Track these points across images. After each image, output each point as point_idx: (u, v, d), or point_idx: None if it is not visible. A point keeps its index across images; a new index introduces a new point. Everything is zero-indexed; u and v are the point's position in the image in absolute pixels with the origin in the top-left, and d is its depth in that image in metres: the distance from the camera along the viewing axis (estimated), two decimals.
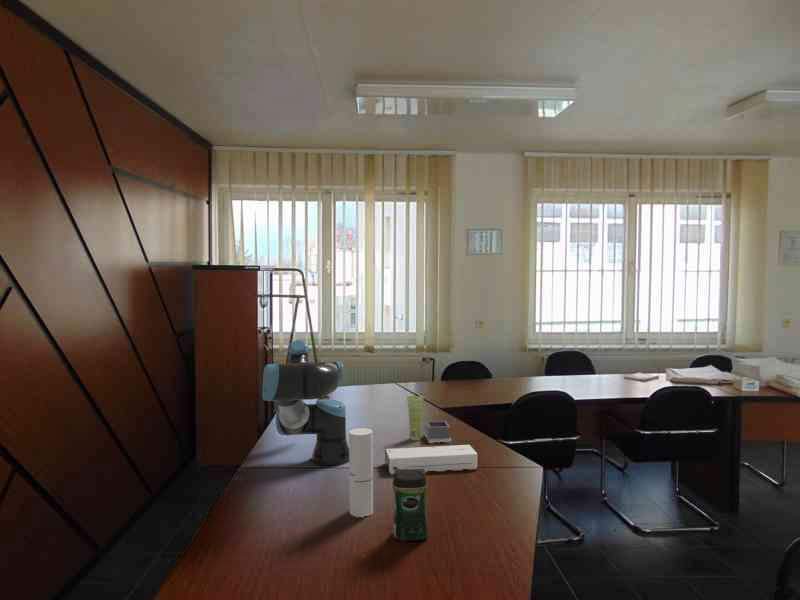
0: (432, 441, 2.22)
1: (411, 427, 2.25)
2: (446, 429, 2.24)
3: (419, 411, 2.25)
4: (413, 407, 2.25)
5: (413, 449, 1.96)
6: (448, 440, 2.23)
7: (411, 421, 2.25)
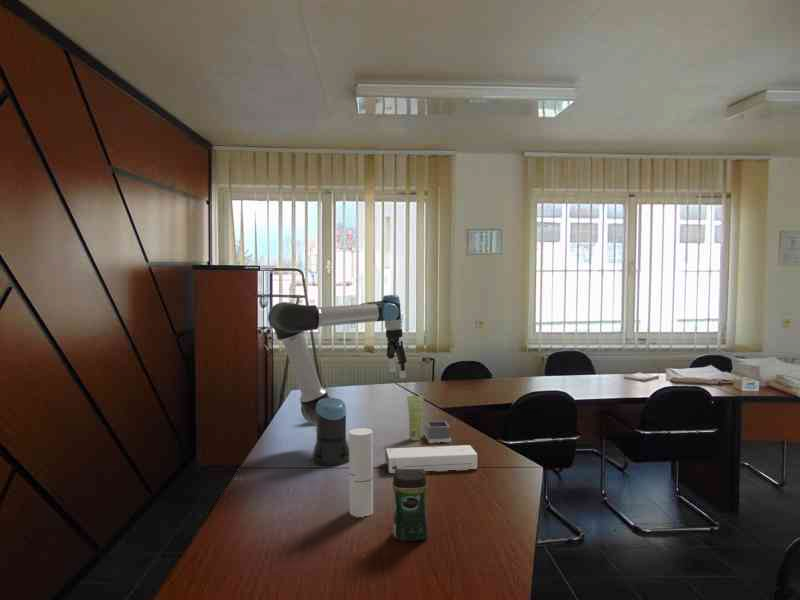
0: (432, 441, 2.22)
1: (411, 427, 2.25)
2: (446, 429, 2.24)
3: (419, 411, 2.25)
4: (413, 407, 2.25)
5: (413, 449, 1.96)
6: (448, 440, 2.23)
7: (411, 421, 2.25)
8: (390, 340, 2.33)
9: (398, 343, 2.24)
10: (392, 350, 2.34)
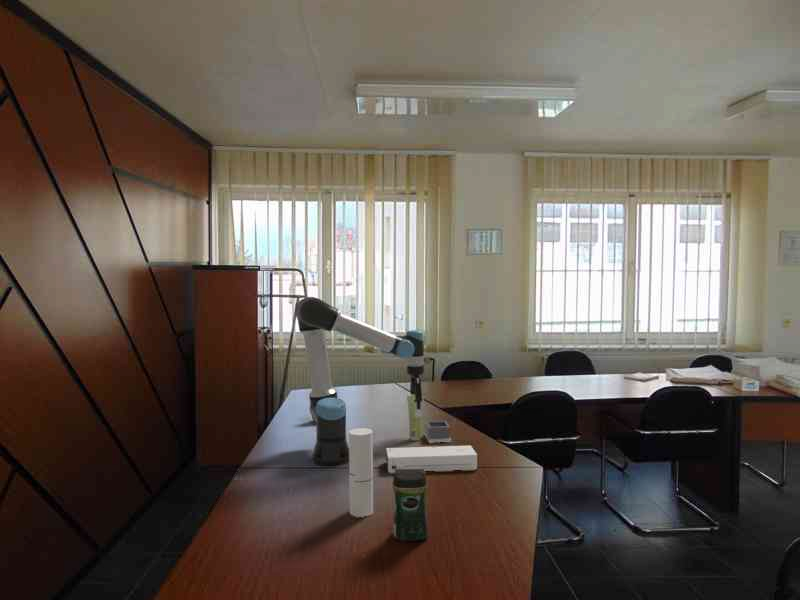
0: (432, 441, 2.22)
1: (411, 427, 2.25)
2: (446, 429, 2.24)
3: None
4: (413, 407, 2.25)
5: (413, 449, 1.96)
6: (448, 440, 2.23)
7: (411, 421, 2.25)
8: (412, 376, 2.29)
9: (416, 381, 2.19)
10: None
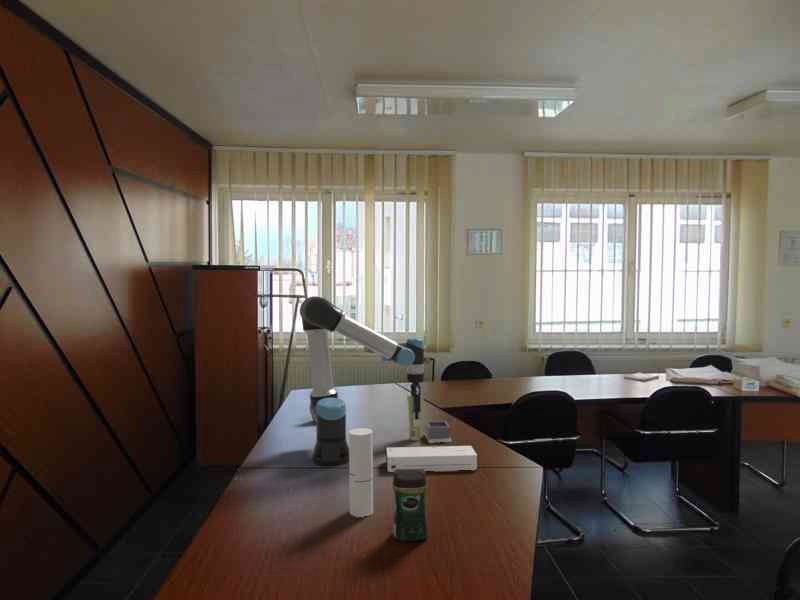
0: (432, 441, 2.22)
1: (411, 427, 2.25)
2: (446, 429, 2.24)
3: None
4: (413, 407, 2.25)
5: (413, 448, 1.97)
6: (448, 440, 2.23)
7: (411, 421, 2.25)
8: (412, 383, 2.29)
9: (416, 392, 2.20)
10: None
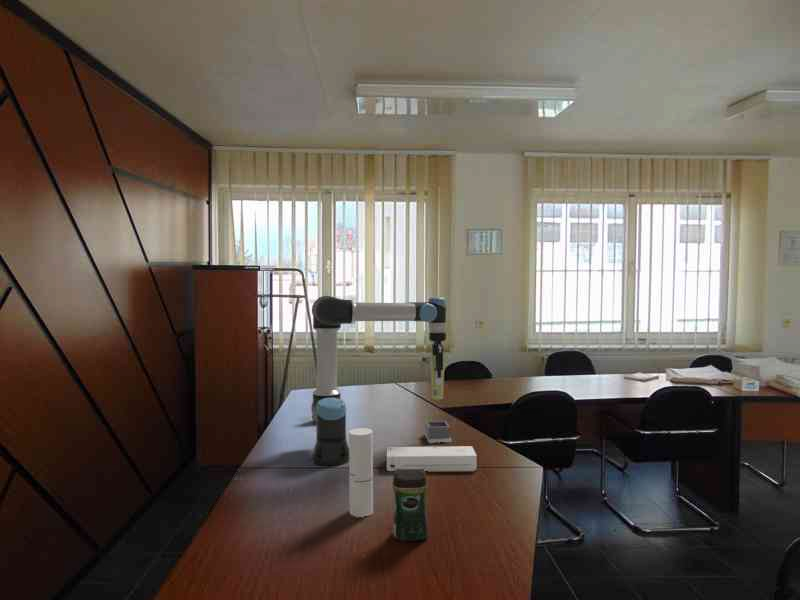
0: (432, 441, 2.22)
1: (433, 386, 2.26)
2: (446, 429, 2.24)
3: None
4: None
5: (414, 448, 1.97)
6: (448, 440, 2.23)
7: (434, 380, 2.25)
8: None
9: (438, 350, 2.20)
10: None
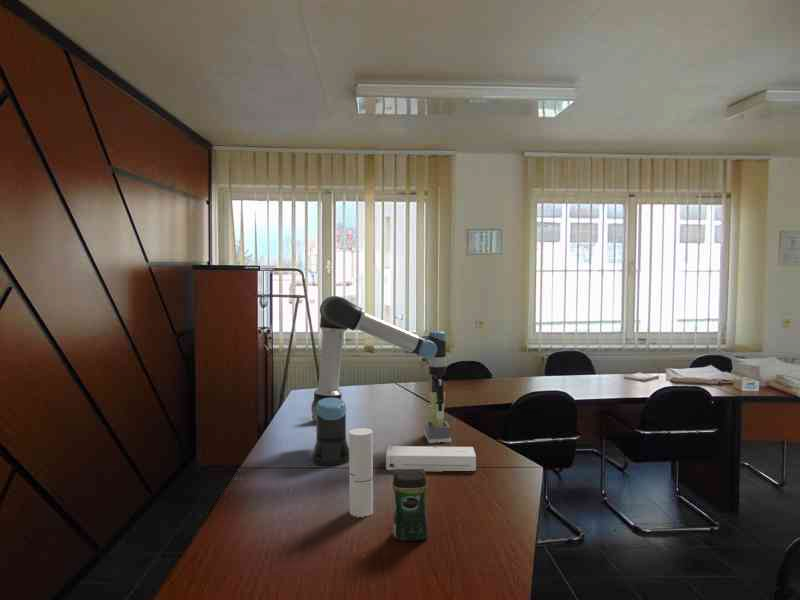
0: (432, 441, 2.22)
1: (433, 423, 2.26)
2: (446, 429, 2.24)
3: None
4: None
5: (414, 448, 1.97)
6: (448, 440, 2.23)
7: (433, 417, 2.26)
8: (433, 376, 2.30)
9: (438, 383, 2.20)
10: (435, 388, 2.30)
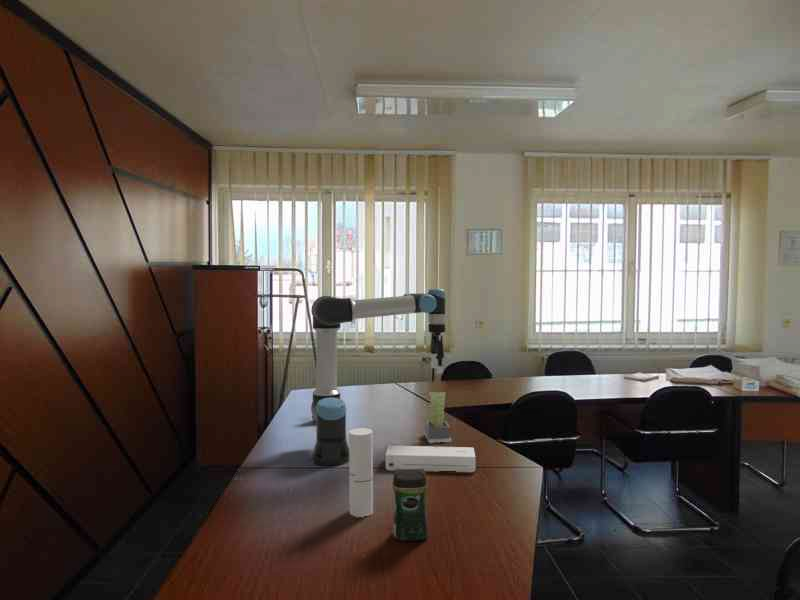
0: (432, 441, 2.22)
1: (433, 423, 2.26)
2: (446, 429, 2.24)
3: (441, 407, 2.26)
4: (436, 403, 2.26)
5: (414, 447, 1.98)
6: (448, 440, 2.23)
7: (433, 417, 2.26)
8: (433, 335, 2.29)
9: (438, 337, 2.20)
10: (434, 345, 2.31)
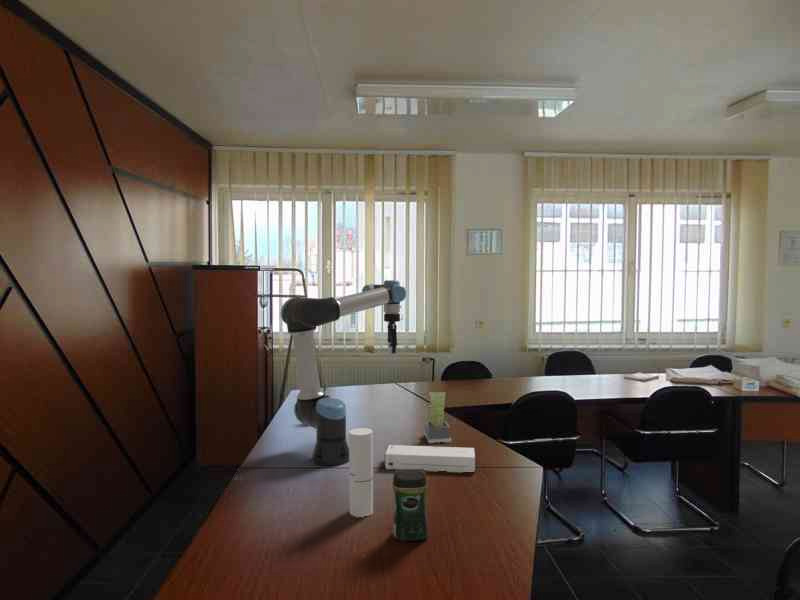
0: (432, 441, 2.22)
1: (433, 423, 2.26)
2: (446, 429, 2.24)
3: (441, 407, 2.26)
4: (436, 403, 2.26)
5: (415, 447, 1.98)
6: (448, 440, 2.23)
7: (433, 417, 2.26)
8: (389, 324, 2.41)
9: (392, 326, 2.31)
10: (390, 334, 2.42)
